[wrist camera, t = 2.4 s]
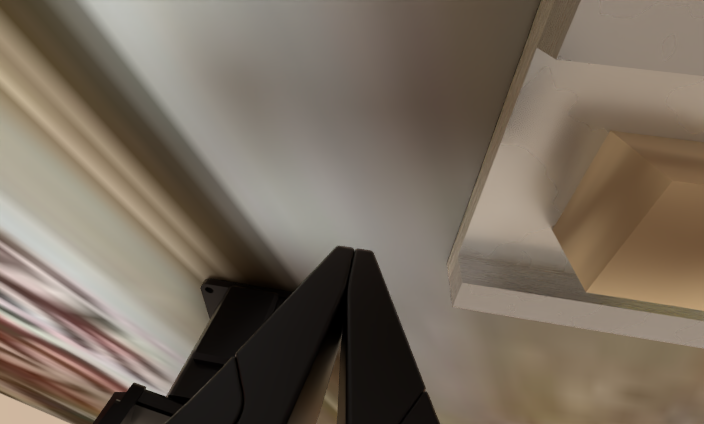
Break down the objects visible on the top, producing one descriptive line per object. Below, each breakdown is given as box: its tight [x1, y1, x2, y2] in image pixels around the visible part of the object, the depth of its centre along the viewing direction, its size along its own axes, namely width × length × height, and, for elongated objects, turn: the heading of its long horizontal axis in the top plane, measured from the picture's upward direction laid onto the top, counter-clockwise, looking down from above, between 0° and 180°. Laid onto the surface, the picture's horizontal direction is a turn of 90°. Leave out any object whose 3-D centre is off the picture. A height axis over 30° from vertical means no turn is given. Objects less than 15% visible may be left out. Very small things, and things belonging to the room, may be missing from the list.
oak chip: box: [552, 131, 704, 311], centre depth 10 cm, size 4×4×3 cm
